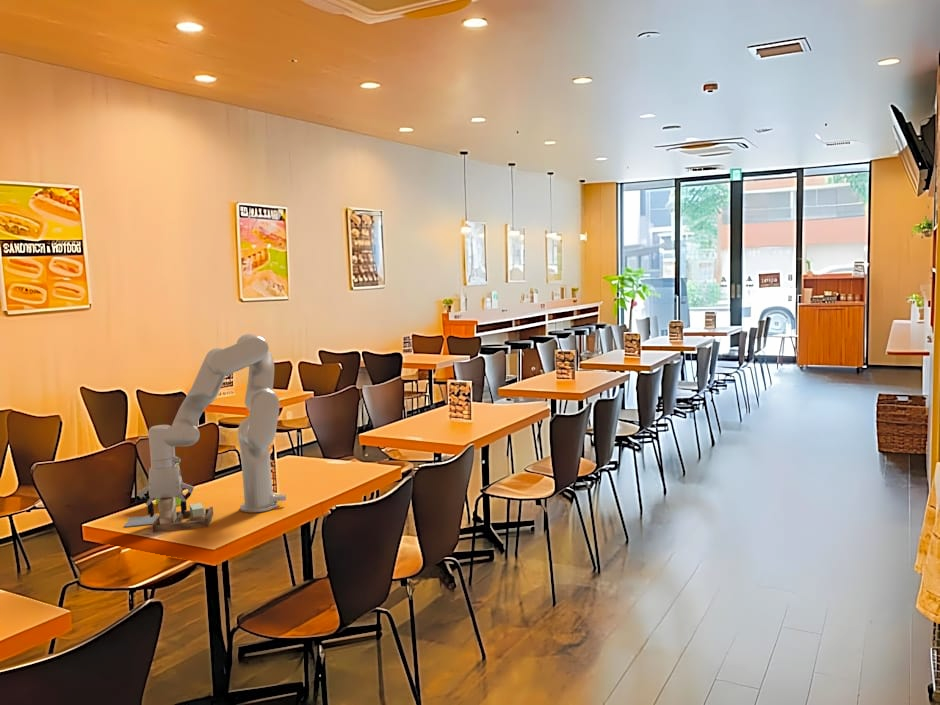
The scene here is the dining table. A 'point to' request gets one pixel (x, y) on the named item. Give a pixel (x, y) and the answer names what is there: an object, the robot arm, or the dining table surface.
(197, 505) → the offcut top
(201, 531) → the dining table surface
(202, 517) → the offcut low
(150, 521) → the mat
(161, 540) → the dining table surface
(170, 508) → the beige rectangular block
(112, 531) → the dining table surface
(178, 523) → the rack
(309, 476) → the dining table surface
